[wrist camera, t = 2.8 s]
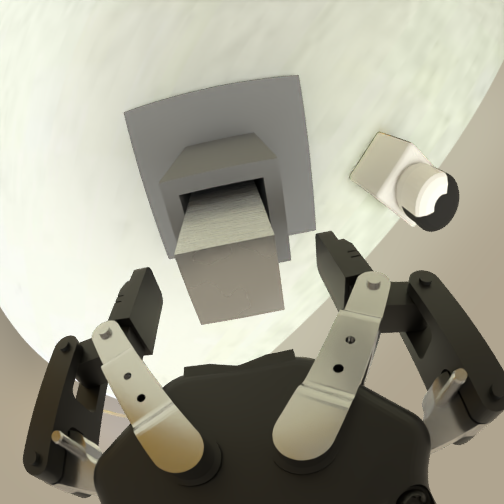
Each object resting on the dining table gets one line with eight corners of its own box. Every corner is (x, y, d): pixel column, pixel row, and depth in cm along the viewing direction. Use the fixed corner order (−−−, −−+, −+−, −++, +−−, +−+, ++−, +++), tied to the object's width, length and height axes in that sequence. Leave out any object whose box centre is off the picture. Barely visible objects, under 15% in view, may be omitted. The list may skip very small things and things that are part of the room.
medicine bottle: (412, 162, 30) (475, 196, 20) (385, 204, 33) (439, 251, 23) (377, 130, 28) (443, 153, 18) (347, 177, 31) (401, 219, 21)
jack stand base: (128, 111, 24) (57, 127, 12) (295, 76, 24) (356, 60, 12) (170, 252, 34) (149, 341, 22) (312, 224, 34) (359, 301, 22)
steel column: (202, 157, 26) (172, 254, 11) (242, 149, 26) (275, 233, 11) (210, 194, 29) (200, 325, 13) (249, 186, 29) (285, 310, 13)
